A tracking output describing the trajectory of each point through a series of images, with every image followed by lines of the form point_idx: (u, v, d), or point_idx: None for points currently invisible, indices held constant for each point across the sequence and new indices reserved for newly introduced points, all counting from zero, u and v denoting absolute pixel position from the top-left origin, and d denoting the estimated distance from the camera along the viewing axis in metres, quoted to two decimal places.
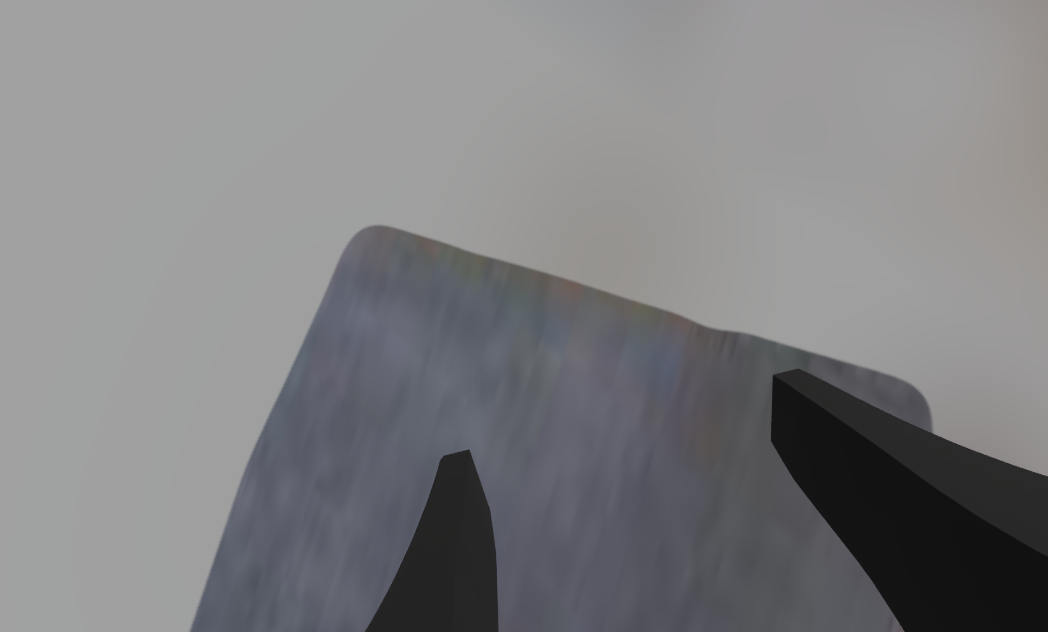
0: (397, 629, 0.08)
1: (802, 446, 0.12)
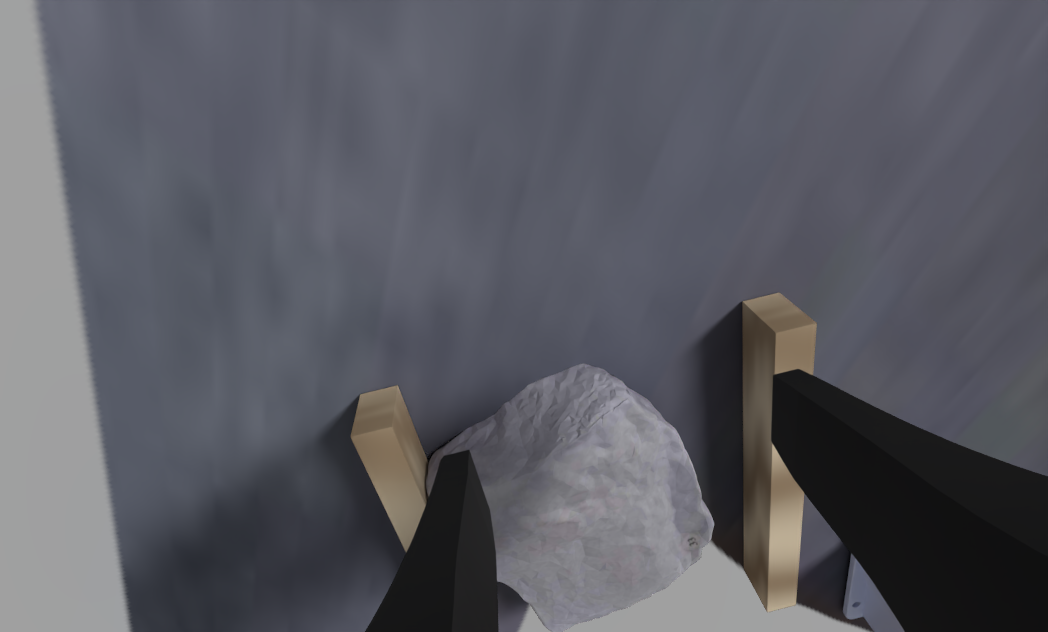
0: (397, 629, 0.08)
1: (802, 446, 0.12)
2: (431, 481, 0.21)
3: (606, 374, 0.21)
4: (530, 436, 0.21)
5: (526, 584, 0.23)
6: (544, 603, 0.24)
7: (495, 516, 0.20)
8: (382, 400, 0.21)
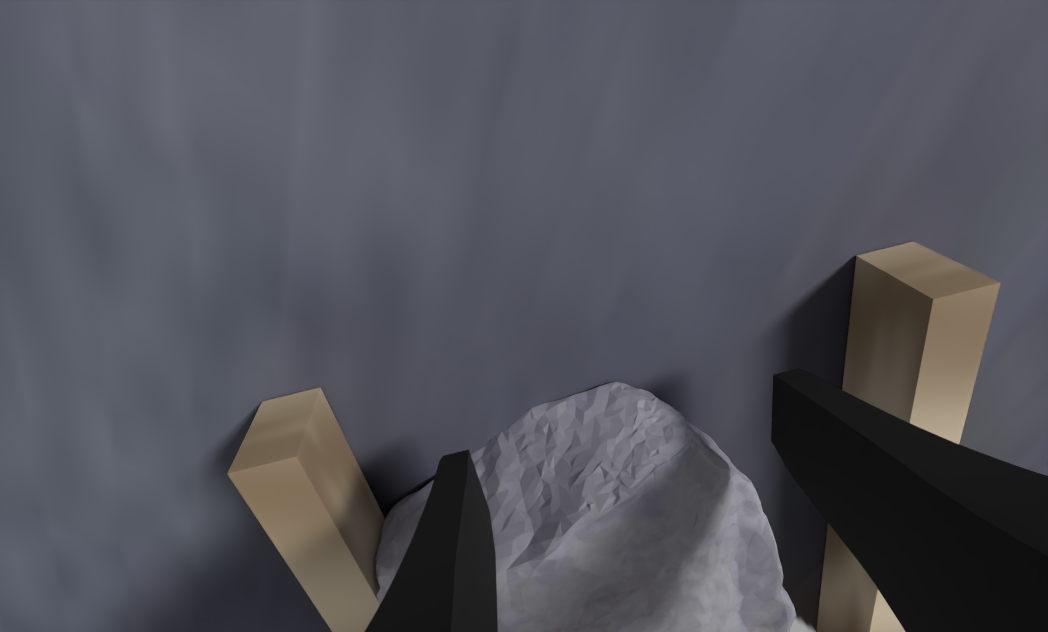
0: (396, 629, 0.08)
1: (802, 446, 0.12)
2: (383, 558, 0.14)
3: (655, 400, 0.14)
4: (536, 494, 0.13)
5: None
6: None
7: None
8: (292, 411, 0.13)
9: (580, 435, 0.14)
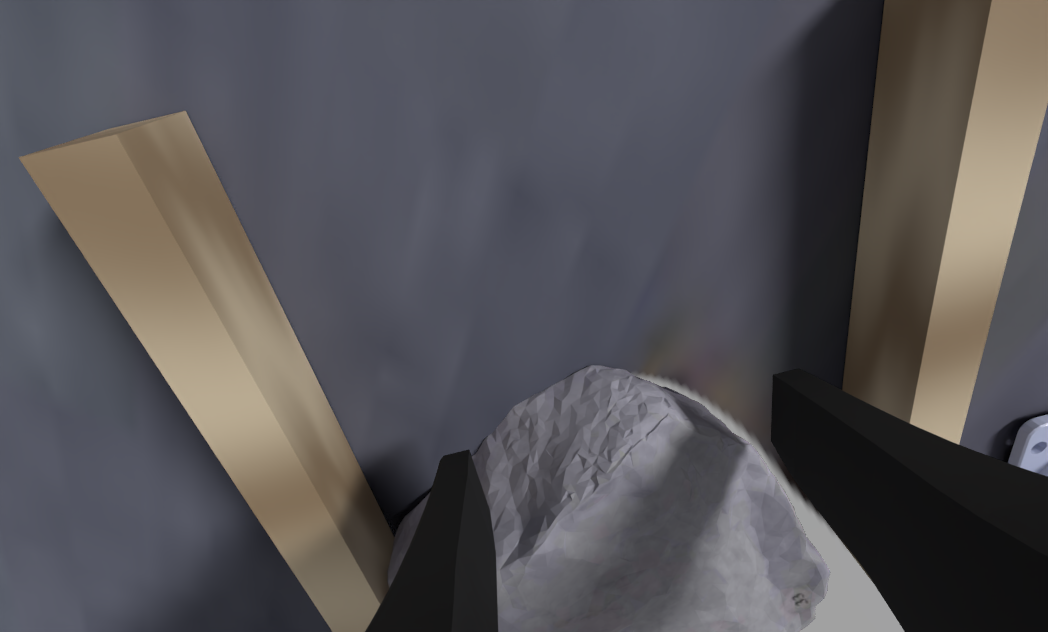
0: (397, 629, 0.08)
1: (802, 446, 0.12)
2: (393, 571, 0.14)
3: (630, 378, 0.14)
4: (524, 490, 0.13)
5: None
6: None
7: None
8: (138, 123, 0.10)
9: (559, 425, 0.14)
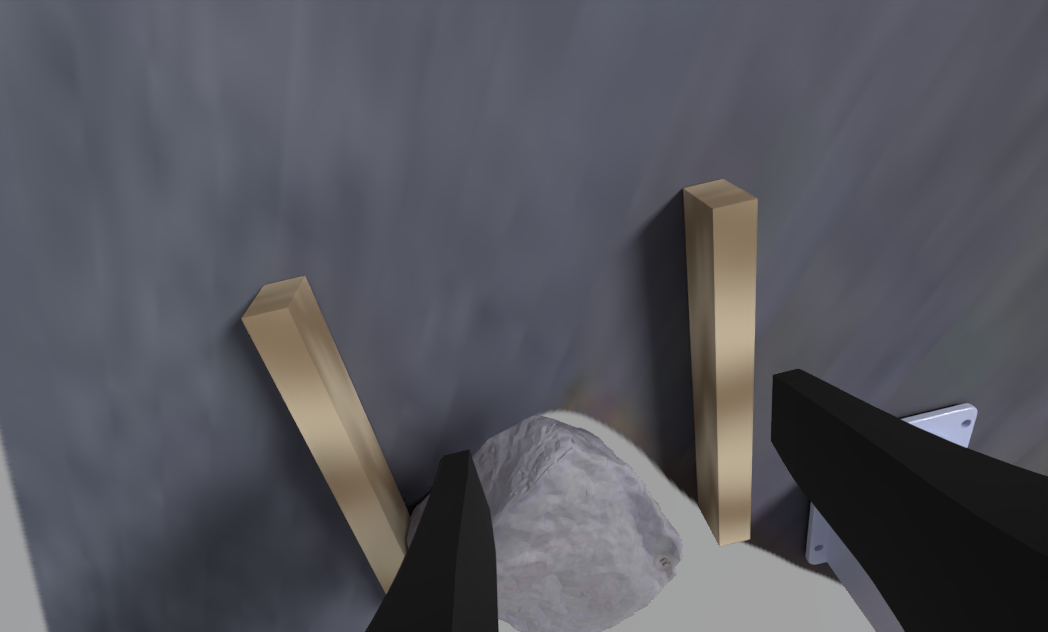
0: (397, 629, 0.08)
1: (802, 446, 0.12)
2: (410, 537, 0.24)
3: (553, 425, 0.23)
4: (489, 490, 0.23)
5: (514, 616, 0.26)
6: (535, 630, 0.26)
7: None
8: (285, 288, 0.19)
9: (511, 452, 0.23)
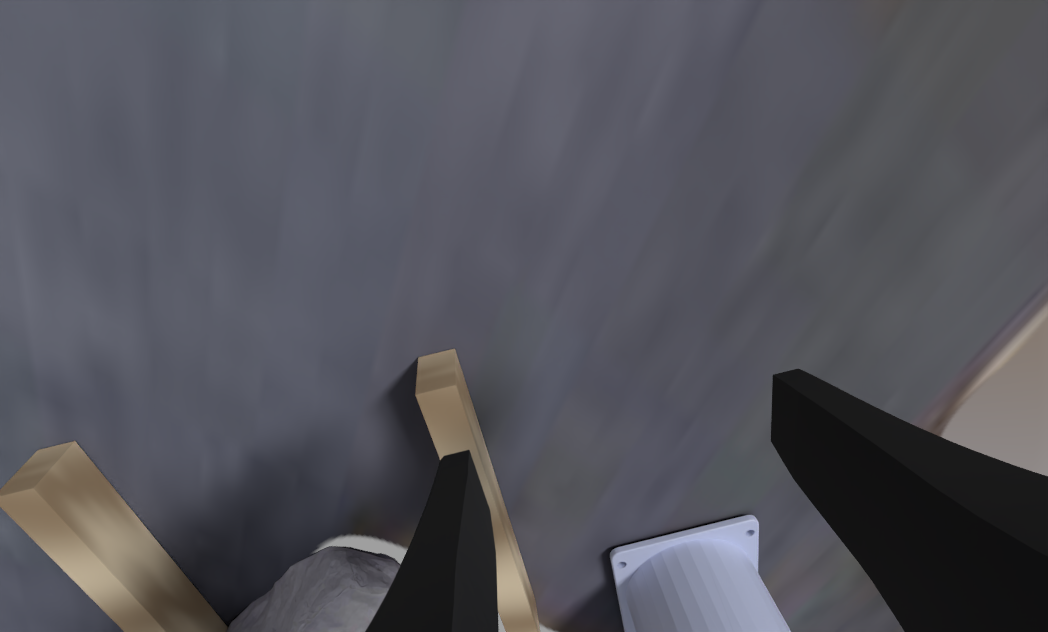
0: (397, 629, 0.08)
1: (802, 446, 0.12)
2: None
3: (341, 559, 0.25)
4: (281, 619, 0.25)
5: None
6: None
7: None
8: (49, 457, 0.21)
9: (303, 583, 0.25)
